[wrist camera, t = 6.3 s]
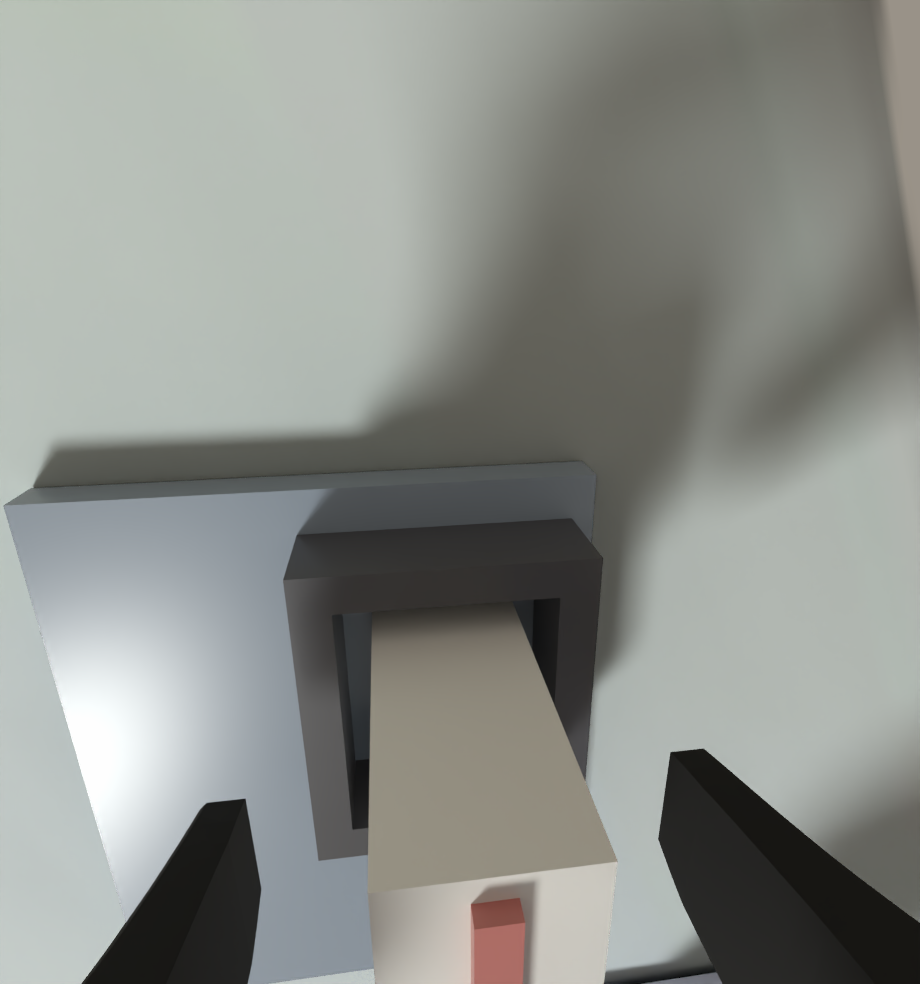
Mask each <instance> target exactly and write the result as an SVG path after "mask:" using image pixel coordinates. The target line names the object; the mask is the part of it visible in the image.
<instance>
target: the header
mask: <svg viewBox="0 0 920 984" xmlns="http://www.w3.org/2000/svg"><path fill="white" fill-rule="evenodd" d="M602 564H603V558H602V556H601V555H600V554H599V552H598V551H597V550H596V549H595V547H594V546H593V545H592V543H591V542H590V541H589V540H588V538H587V537H586V536H585V534H584V533H583V532H582V531H581V529H580V528H579V527H578V526H577V524H576V523H575V522H574V520H573V519H572V518H567V519H551V520H534V521H518V522H501V523H485V524H468V525H452V526H435V527H419V528H402V529H386V530H369V531H353V532H336V533H320V534H303V535H297V536H296V539H295V542H294V545H293V549H292V552H291V555H290V559H289V562H288V565H287V568H286V572H285V575H284V578H283V585H284V593H285V600H286V608H287V616H288V624H289V632H290V640H291V648H292V656H293V664H294V672H295V679H296V687H297V695H298V703H299V711H300V719H301V727H302V735H303V743H304V751H305V758H306V766H307V774H308V782H309V790H310V798H311V806H312V814H313V822H314V830H315V837H316V845H317V853H318V861H322V860H331V859H339V858H347V857H355V856H363V855H368V832H369V770H370V759H364V760H356V759H355V748H354V737H353V726H352V715H351V704H350V693H349V681H348V670H347V659H346V648H345V637H344V626H343V615H342V614H353V613H366V612H379V611H392V610H405V609H419V608H432V607H445V606H458V605H471V604H484V603H497V602H511V601H524V600H534V610H533V638H532V651H533V654H534V656H535V659H536V661H537V664H538V666H539V669H540V671H541V674H542V676H543V678H544V681H545V683H546V686H547V688H548V691H549V693H550V696H551V698H552V701H553V703H554V706H555V708H556V711H557V713H558V715H559V718H560V720H561V723H562V725H563V728H564V730H565V733H566V735H567V738H568V740H569V743H570V745H571V748H572V750H573V752H574V755H575V757H576V760H577V762H578V765H579V767H580V770H581V772H582V775H583V777H584V780H585V777H586V764H587V752H588V739H589V727H590V714H591V702H592V689H593V677H594V664H595V651H596V639H597V626H598V614H599V601H600V589H601V576H602Z"/></svg>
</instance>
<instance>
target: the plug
mask: <svg viewBox="0 0 920 984" xmlns="http://www.w3.org/2000/svg"><path fill="white" fill-rule="evenodd" d="M617 864H618V861H617V859H616V856H615V854H614V851H613V849H612V846H611V844H610V841H609V839H608V836H607V834H606V831H605V829H604V827H603V824H602V822H601V819H600V817H599V814H598V812H597V809H596V807H595V804H594V802H593V799H592V797H591V794H590V792H589V789H588V787H587V785H586V782H585V780H584V777H583V775H582V772H581V770H580V767H579V765H578V762H577V760H576V757H575V755H574V752H573V750H572V748H571V745H570V743H569V740H568V738H567V735H566V733H565V730H564V728H563V725H562V723H561V720H560V718H559V715H558V713H557V711H556V708H555V706H554V703H553V701H552V698H551V696H550V693H549V691H548V688H547V686H546V683H545V681H544V678H543V676H542V674H541V671H540V669H539V666H538V664H537V661H536V659H535V656H534V654H533V651H532V649H531V646H530V644H529V641H528V639H527V636H526V634H525V632H524V629H523V627H522V624H521V622H520V619H519V617H518V614H517V612H516V609H515V607H514V604H513V602H512V601H511V602H497V603H484V604H471V605H458V606H445V607H432V608H419V609H405V610H392V611H379V612H372V646H371V708H370V770H369V832H368V905H369V917H370V928H371V940H372V951H373V963H374V974H375V984H604V978H605V969H606V961H607V952H608V943H609V934H610V925H611V917H612V908H613V899H614V890H615V881H616V872H617Z"/></svg>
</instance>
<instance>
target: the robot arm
mask: <svg viewBox="0 0 920 984" xmlns="http://www.w3.org/2000/svg"><path fill="white" fill-rule="evenodd" d="M658 839H659V842H660V845H661V848H662V851H663V853H664V856H665V859H666V862H667V864H668V867H669V870H670V873H671V875H672V878H673V880H674V883H675V885H676V888H677V891H678V893H679V896H680V898H681V901H682V903H683V906H684V908H685V910H686V912H687V914H688V916H689V918H690V920H691V922H692V924H693V926H694V928H695V930H696V932H697V934H698V936H699V938H700V940H701V942H702V944H703V946H704V948H705V950H706V952H707V954H708V956H709V958H710V960H711V962H712V964H713V966H714V968H715V970H716V972H714V973H708V974H701V975H695V976H688V977H682V978H675V979H669V980H662V981H656V982H650V983H643V984H920V923H919V922H918V921H917V920H915V919H914V918H912V917H911V916H909V915H908V914H907V913H905V912H904V911H903V910H901V909H900V908H899V907H897V906H896V905H895V904H893V903H892V902H891V901H889V900H888V899H887V898H885V897H884V896H883V895H881V894H880V893H879V892H877V891H876V890H875V889H873V888H872V887H871V886H869V885H868V884H867V883H865V882H864V881H863V880H861V879H860V878H859V877H857V876H856V875H855V874H854V873H852V872H851V871H850V870H848V869H847V868H846V867H845V866H843V865H842V864H841V863H840V862H838V861H837V860H836V859H834V858H833V857H832V856H831V855H829V854H828V853H827V852H826V851H824V850H823V849H822V848H821V847H820V846H818V845H817V844H816V843H815V842H813V841H812V840H811V839H810V838H808V837H807V836H806V835H805V834H804V833H802V832H801V831H800V830H799V829H798V828H796V827H795V826H794V825H793V824H792V823H790V822H789V821H788V820H787V819H786V818H784V817H783V816H782V815H781V814H780V813H778V812H777V811H776V810H775V809H774V808H773V807H771V806H770V805H769V804H768V803H767V802H765V801H764V800H763V799H762V798H761V797H760V796H758V795H757V794H756V793H755V792H754V791H753V790H751V789H750V788H749V787H748V786H747V785H746V784H744V783H743V782H742V781H741V780H740V779H739V778H737V777H736V776H735V775H734V774H733V773H732V772H731V771H729V770H728V769H727V768H726V767H725V766H724V765H722V764H721V763H720V762H719V761H718V760H716V759H715V758H714V757H713V756H712V755H711V754H709V753H708V752H707V751H706V750H704V749H696V750H687V751H678V752H671V753H670V760H669V767H668V774H667V781H666V788H665V795H664V802H663V810H662V817H661V824H660V831H659V838H658ZM260 897H261V884H260V878H259V872H258V867H257V861H256V855H255V849H254V844H253V838H252V832H251V827H250V821H249V815H248V810H247V804H246V799H237V800H228V801H219V802H209V803H206V804H205V805H204V806H203V807H202V808H201V809H200V810H199V812H198V813H197V815H196V817H195V818H194V820H193V822H192V823H191V825H190V826H189V828H188V830H187V831H186V833H185V834H184V836H183V838H182V839H181V841H180V842H179V844H178V846H177V847H176V849H175V850H174V852H173V853H172V855H171V856H170V858H169V860H168V861H167V863H166V864H165V866H164V867H163V869H162V870H161V872H160V873H159V875H158V876H157V878H156V879H155V881H154V882H153V884H152V885H151V887H150V888H149V890H148V891H147V893H146V894H145V896H144V897H143V899H142V900H141V901H140V903H139V904H138V906H137V907H136V909H135V910H134V912H133V913H132V914H131V916H130V917H129V919H128V920H127V922H126V923H125V924H124V926H123V927H122V929H121V930H120V932H119V933H118V935H117V936H116V937H115V939H114V940H113V942H112V943H111V945H110V946H109V947H108V949H107V950H106V952H105V953H104V954H103V956H102V957H101V958H100V960H99V961H98V963H97V964H96V965H95V966H94V968H93V969H92V970H91V972H90V973H89V974H88V976H87V977H86V978H85V980H84V981H83V982H82V984H248V980H249V975H250V971H251V966H252V960H253V953H254V945H255V938H256V930H257V922H258V914H259V905H260Z"/></svg>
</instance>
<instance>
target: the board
mask: <svg viewBox="0 0 920 984" xmlns="http://www.w3.org/2000/svg"><path fill="white" fill-rule="evenodd" d="M595 489H596V474H595V473H594V472H593V471H592V470H591V469H590V468H589V467H588V466H587V465H586V464H585V463H584V462H583V461H573V462H553V463H533V464H513V465H493V466H472V467H452V468H432V469H412V470H392V471H371V472H351V473H331V474H311V475H291V476H270V477H250V478H230V479H210V480H189V481H169V482H149V483H129V484H109V485H88V486H68V487H48V488H31V489H29V490H27V491H26V492H24V493H23V494H21V495H19V496H18V497H16V498H15V499H13V500H12V501H10V502H8V503H7V504H5V505H4V509H5V513H6V516H7V520H8V523H9V526H10V530H11V533H12V537H13V540H14V543H15V547H16V550H17V554H18V557H19V561H20V564H21V567H22V571H23V574H24V578H25V581H26V584H27V588H28V591H29V595H30V598H31V601H32V605H33V608H34V612H35V615H36V618H37V622H38V625H39V629H40V632H41V635H42V639H43V642H44V646H45V649H46V652H47V656H48V659H49V663H50V666H51V669H52V673H53V676H54V680H55V683H56V686H57V690H58V693H59V697H60V700H61V704H62V707H63V710H64V714H65V717H66V721H67V724H68V727H69V731H70V734H71V738H72V741H73V744H74V748H75V751H76V755H77V758H78V761H79V765H80V768H81V772H82V775H83V778H84V782H85V785H86V789H87V792H88V795H89V799H90V802H91V806H92V809H93V812H94V816H95V819H96V823H97V826H98V829H99V833H100V836H101V840H102V843H103V847H104V850H105V853H106V857H107V860H108V864H109V867H110V870H111V874H112V877H113V881H114V884H115V887H116V891H117V894H118V898H119V901H120V904H121V908H122V911H123V915H124V918H125V921H126V922H127V920H128V919H129V917H130V916H131V914H132V913H133V912H134V910H135V909H136V907H137V906H138V904H139V903H140V901H141V900H142V899H143V897H144V896H145V894H146V893H147V891H148V890H149V888H150V887H151V885H152V884H153V882H154V881H155V879H156V878H157V876H158V875H159V873H160V872H161V870H162V869H163V867H164V866H165V864H166V863H167V861H168V860H169V858H170V856H171V855H172V853H173V852H174V850H175V849H176V847H177V846H178V844H179V842H180V841H181V839H182V838H183V836H184V834H185V833H186V831H187V830H188V828H189V826H190V825H191V823H192V822H193V820H194V818H195V817H196V815H197V813H198V812H199V810H200V809H201V808H202V807H203V806H204V805H205V804H206V803H209V802H219V801H228V800H237V799H246V804H247V810H248V815H249V821H250V827H251V832H252V838H253V844H254V849H255V855H256V861H257V867H258V872H259V878H260V884H261V897H260V905H259V914H258V922H257V930H256V938H255V945H254V953H253V960H252V966H251V971H250V975H249V980H248V984H269V983H276V982H283V981H290V980H297V979H304V978H311V977H318V976H325V975H332V974H339V973H346V972H353V971H360V970H367V969H374V963H373V951H372V940H371V928H370V917H369V905H368V855H363V856H355V857H347V858H339V859H331V860H322V861H318V853H317V845H316V837H315V830H314V822H313V814H312V806H311V798H310V790H309V782H308V774H307V766H306V758H305V751H304V743H303V735H302V727H301V719H300V711H299V703H298V695H297V687H296V679H295V672H294V664H293V656H292V648H291V640H290V632H289V624H288V616H287V608H286V600H285V593H284V585H283V578H284V575H285V572H286V568H287V565H288V562H289V559H290V555H291V552H292V549H293V545H294V542H295V539H296V536H297V535H303V534H320V533H336V532H353V531H369V530H386V529H402V528H419V527H435V526H452V525H468V524H485V523H501V522H518V521H534V520H551V519H567V518H572V519H573V520H574V522H575V523H576V524H577V526H578V527H579V528H580V529H581V531H582V532H583V533H584V534H585V536H586V537H587V538H588V540H589V541H590V542H591V543H592V531H593V517H594V503H595ZM512 602H513V604H514V607H515V609H516V612H517V614H518V617H519V619H520V622H521V624H522V627H523V629H524V632H525V634H526V636H527V639H528V641H529V644H530V646H531V649H532V638H533V610H534V600H524V601H512ZM342 615H343V626H344V637H345V648H346V659H347V670H348V681H349V693H350V704H351V715H352V726H353V737H354V748H355V759H356V760H364V759H370V708H371V646H372V612H366V613H353V614H342Z"/></svg>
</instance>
